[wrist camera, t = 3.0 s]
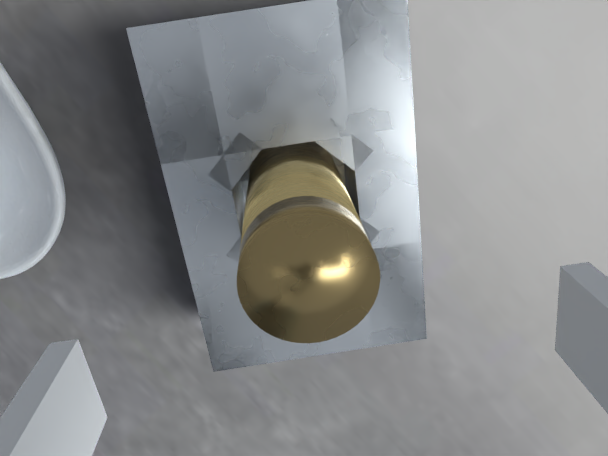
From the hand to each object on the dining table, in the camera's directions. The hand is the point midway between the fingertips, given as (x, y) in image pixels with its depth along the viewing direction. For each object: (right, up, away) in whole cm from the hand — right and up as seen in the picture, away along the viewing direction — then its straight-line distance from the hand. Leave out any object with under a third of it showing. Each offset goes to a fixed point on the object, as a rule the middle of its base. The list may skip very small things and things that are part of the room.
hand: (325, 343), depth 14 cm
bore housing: (-1, +7, +17) cm, 18 cm away
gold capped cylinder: (-1, +6, +16) cm, 17 cm away
